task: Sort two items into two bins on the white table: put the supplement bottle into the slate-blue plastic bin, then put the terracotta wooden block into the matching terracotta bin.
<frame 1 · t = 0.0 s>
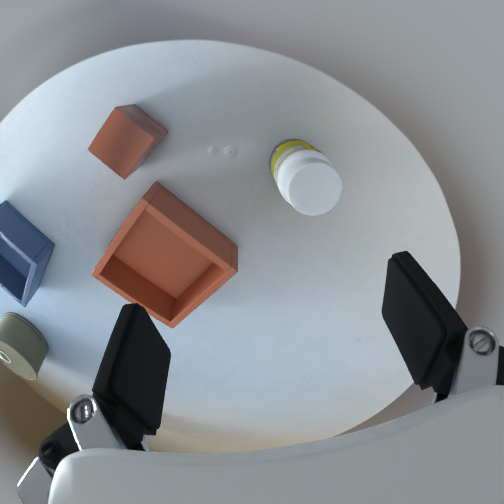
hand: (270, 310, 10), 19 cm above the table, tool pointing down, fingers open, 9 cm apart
terracotta bin: (167, 249, 30), on the table
block: (137, 135, 23), on the table
can: (25, 333, 38), on the table
supplement bottle: (292, 161, 26), on the table
blue bin: (21, 246, 28), on the table
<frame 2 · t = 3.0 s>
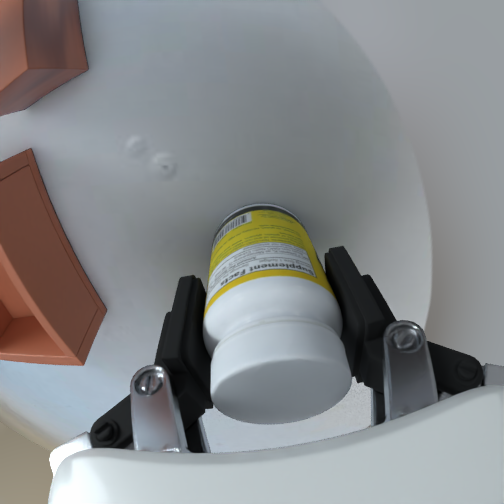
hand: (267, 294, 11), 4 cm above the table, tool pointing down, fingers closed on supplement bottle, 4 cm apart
terracotta bin: (15, 255, 13), on the table
block: (46, 53, 8), on the table
supplement bottle: (260, 242, 14), on the table, touching gripper
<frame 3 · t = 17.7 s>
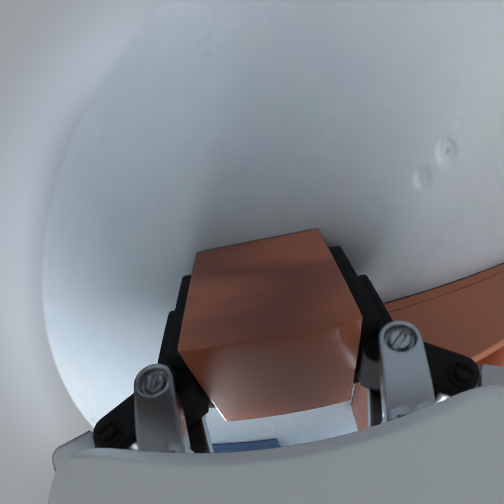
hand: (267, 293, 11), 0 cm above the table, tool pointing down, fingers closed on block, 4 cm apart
terracotta bin: (433, 345, 15), on the table
block: (266, 287, 11), on the table, touching gripper
blue bin: (235, 456, 24), on the table
when the fingers open (4 cm above the table, at t = 25.7 s): block stays where it is, resting on terracotta bin.
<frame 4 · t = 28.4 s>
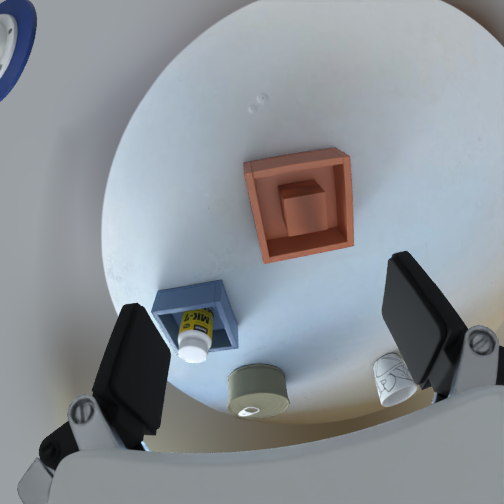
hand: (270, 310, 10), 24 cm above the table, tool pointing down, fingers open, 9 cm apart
terracotta bin: (297, 197, 33), on the table
block: (298, 199, 33), point 1 cm above the table, touching terracotta bin
can: (256, 378, 54), on the table
supplement bottle: (198, 311, 42), resting on blue bin
blue bin: (199, 310, 42), on the table
mug: (388, 362, 55), on the table
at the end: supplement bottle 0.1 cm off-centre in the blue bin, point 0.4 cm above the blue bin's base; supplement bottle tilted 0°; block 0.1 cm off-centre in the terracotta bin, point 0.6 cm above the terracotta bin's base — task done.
